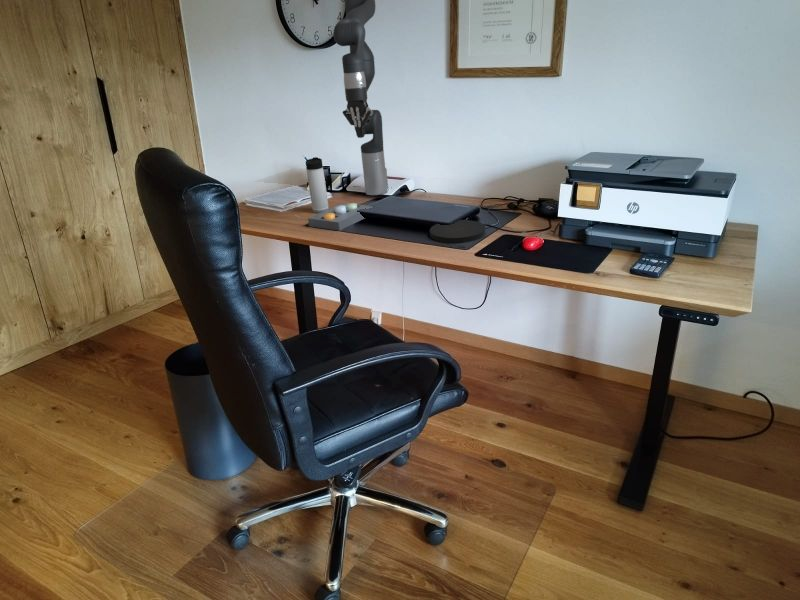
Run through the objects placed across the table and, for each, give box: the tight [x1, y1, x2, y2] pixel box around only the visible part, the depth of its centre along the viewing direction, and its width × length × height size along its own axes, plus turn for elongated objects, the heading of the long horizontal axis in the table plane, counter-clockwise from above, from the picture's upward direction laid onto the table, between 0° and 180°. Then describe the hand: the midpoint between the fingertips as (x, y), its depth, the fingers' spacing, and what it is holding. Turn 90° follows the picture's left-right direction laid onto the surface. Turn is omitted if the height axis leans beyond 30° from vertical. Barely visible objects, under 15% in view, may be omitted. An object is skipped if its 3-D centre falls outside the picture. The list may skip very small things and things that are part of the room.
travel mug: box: [305, 156, 330, 214], centre depth 213 cm, size 6×7×20 cm
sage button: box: [346, 202, 358, 210], centre depth 207 cm, size 4×4×4 cm
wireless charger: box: [429, 219, 486, 244], centre depth 179 cm, size 18×18×2 cm
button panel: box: [307, 202, 374, 232], centre depth 203 cm, size 20×14×3 cm
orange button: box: [323, 213, 335, 220], centre depth 198 cm, size 4×4×4 cm
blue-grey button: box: [334, 204, 346, 215], centre depth 202 cm, size 4×4×4 cm
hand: (360, 137), depth 201 cm, fingers closed
